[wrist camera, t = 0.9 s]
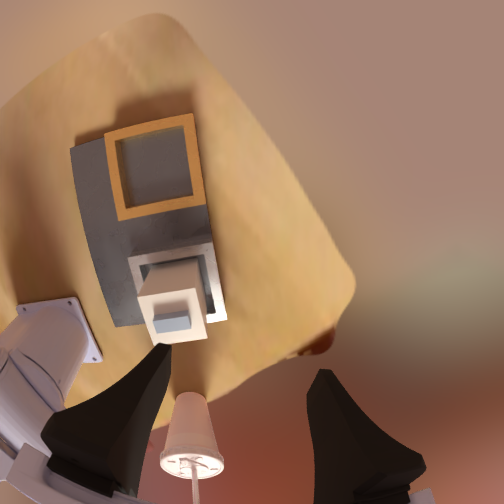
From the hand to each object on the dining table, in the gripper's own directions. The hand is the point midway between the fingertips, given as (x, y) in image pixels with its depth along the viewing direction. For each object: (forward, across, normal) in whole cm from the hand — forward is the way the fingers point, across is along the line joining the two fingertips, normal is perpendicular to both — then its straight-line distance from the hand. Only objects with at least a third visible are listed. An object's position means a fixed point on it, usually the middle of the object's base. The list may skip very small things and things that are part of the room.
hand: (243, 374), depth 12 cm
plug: (+12, +6, +2) cm, 13 cm away
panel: (+12, +9, -2) cm, 16 cm away
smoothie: (+12, +4, +18) cm, 22 cm away
